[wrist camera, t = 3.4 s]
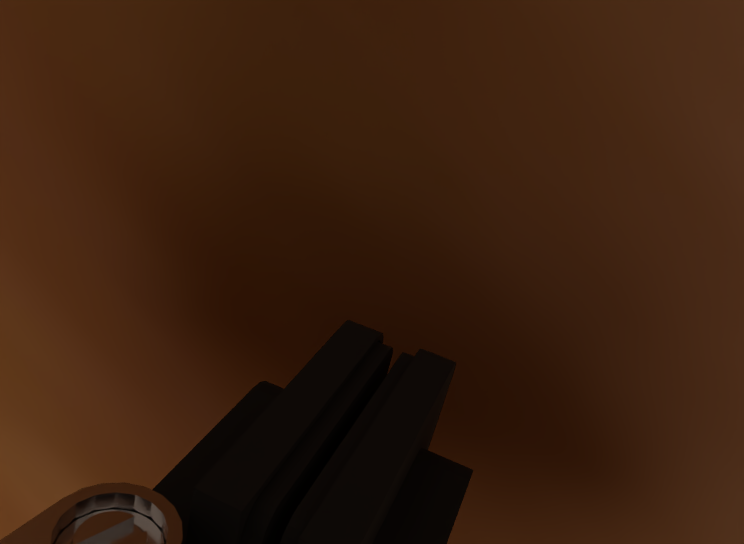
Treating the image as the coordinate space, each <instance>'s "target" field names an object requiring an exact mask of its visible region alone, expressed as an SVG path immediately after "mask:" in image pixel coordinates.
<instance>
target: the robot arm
mask: <svg viewBox="0 0 744 544" xmlns="http://www.w3.org/2000/svg"><path fill="white" fill-rule="evenodd" d="M382 343H383V333H380V332H378V331H375V330H373V329H370V328H368V327H365V326H363V325H360V324H358V323H355V322H353V321H350V320H347V321H346V322H345V323H344V324H343V325H342V326H341V327H340V328H339V329H338V330H337V331H336V333H335V334H334V335H333V336H332V337H331V338H330V339H329V340H328V341H327V342H326V344H325V345H324V346H323V347H322V348H321V349H320V350H319V351H318V352H317V353H316V354H315V356H314V357H313V358H312V359H311V360H310V361H309V362H308V363H307V364H306V365H305V367H304V368H303V369H302V370H301V371H300V372H299V373H298V374H297V375H296V376H295V378H294V379H293V380H292V381H291V382H290V383H289V384H288V385H287V386H286V387H285V389H283V388H281V387H278V386H276V385H274V384H271V383H269V382H267V381H263V382H260V383H259V384H257V385H256V386H255V387H254V388H253V389H252V390H251V391H250V392H249V393H248V394H247V395H246V396H245V397H244V398H243V399H242V400H241V401H240V402H239V403H238V404H237V405H236V406H235V407H234V408H233V409H232V410H231V411H230V412H229V413H228V414H227V415H226V416H225V417H224V418H223V419H222V420H221V421H220V422H219V423H218V424H217V425H216V426H215V427H214V428H213V429H212V430H211V431H210V432H209V433H208V434H207V435H206V436H205V437H204V438H203V439H202V440H201V441H200V442H199V443H198V444H197V445H196V446H195V447H194V448H193V449H192V450H191V451H190V452H189V453H188V454H187V455H186V456H185V457H184V458H183V459H182V460H181V461H180V462H179V463H178V464H177V465H176V466H175V467H174V468H173V469H172V470H171V471H170V472H169V473H168V474H167V475H166V477H165V478H164V479H163V480H162V481H161V482H160V483H159V484H158V485H157V486H156V487H155V488H154V489H153V490H151V489H149V488H147V487H145V486H140V485H135V484H130V483H102V484H98V485H94V486H90V487H86V488H82V489H80V490H78V491H76V492H74V493H72V494H70V495H68V496H66V497H64V498H62V499H61V500H59V501H58V502H56V503H55V504H53V505H52V506H50V507H49V508H47V509H46V510H44V511H43V512H41V513H40V514H38V515H37V516H35V517H34V518H32V519H31V520H29V521H28V522H26V523H25V524H24V525H22V526H21V527H19V528H18V529H16V530H15V531H13V532H12V533H10V534H9V535H7V536H6V537H4V538H3V539H1V540H0V544H447V541H448V538H449V536H450V533H451V530H452V527H453V525H454V522H455V519H456V516H457V514H458V511H459V508H460V505H461V503H462V500H463V497H464V495H465V492H466V489H467V486H468V484H469V481H470V478H471V475H472V473H473V470H472V469H470V468H467V467H465V466H463V465H460V464H458V463H456V462H453V461H451V460H449V459H446V458H444V457H442V456H439V455H437V454H435V453H432V452H430V451H428V447H429V444H430V441H431V438H432V435H433V432H434V429H435V426H436V423H437V421H438V418H439V415H440V412H441V409H442V406H443V403H444V400H445V397H446V394H447V391H448V388H449V385H450V382H451V379H452V376H453V373H454V369H455V366H456V362H454V361H451V360H449V359H446V358H444V357H441V356H439V355H436V354H434V353H431V352H429V351H426V350H424V349H419V351H418V352H417V353H416V355H415V357H414V356H412V355H409V354H407V353H404V352H403V353H402V354H401V355H400V357H399V358H398V359H397V361H396V362H395V364H394V365H393V367H392V368H391V370H390V371H389V373H388V374H387V372H388V368H389V365H390V361H391V358H392V353H393V348H391V347H389V346H386V345H384V344H382ZM386 375H387V376H386Z"/></svg>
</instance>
